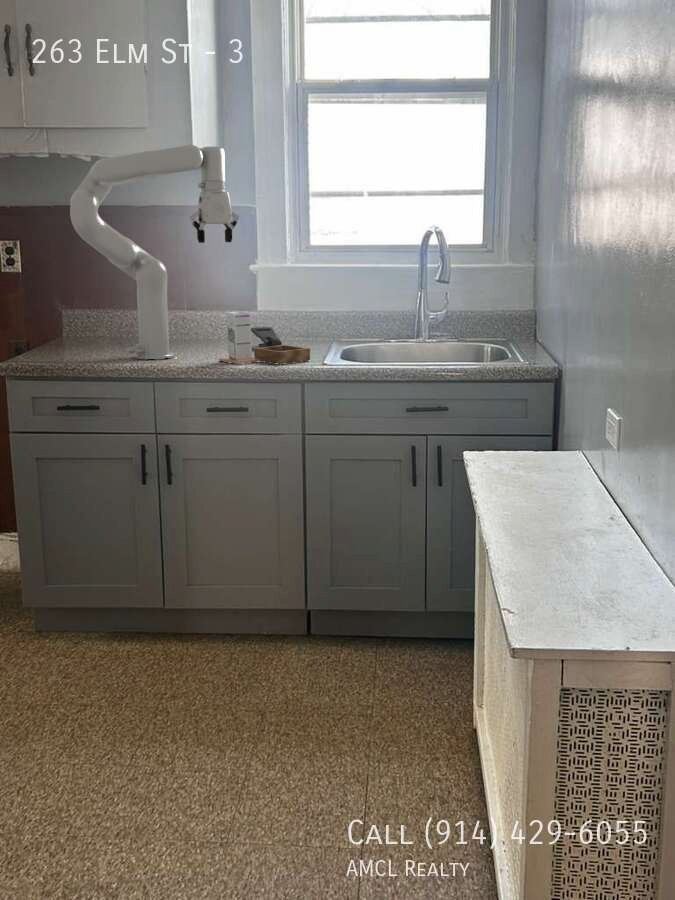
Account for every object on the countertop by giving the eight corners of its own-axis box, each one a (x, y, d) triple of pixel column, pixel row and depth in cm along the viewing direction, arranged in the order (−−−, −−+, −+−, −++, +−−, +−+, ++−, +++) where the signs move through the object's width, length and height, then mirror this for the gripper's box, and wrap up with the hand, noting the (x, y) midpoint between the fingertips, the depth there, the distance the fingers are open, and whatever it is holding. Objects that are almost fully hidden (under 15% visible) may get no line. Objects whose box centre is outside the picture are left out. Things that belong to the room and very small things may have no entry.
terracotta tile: (239, 364, 322) (239, 361, 322) (218, 361, 329) (218, 358, 329) (263, 361, 329) (263, 358, 329) (243, 358, 336) (243, 355, 336)
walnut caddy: (280, 365, 322) (280, 352, 321) (254, 361, 331) (254, 348, 330) (310, 361, 330) (309, 348, 330) (283, 357, 339) (283, 344, 338)
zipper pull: (273, 326, 368) (290, 334, 344) (273, 345, 369) (290, 354, 346) (248, 327, 365) (263, 335, 342) (248, 346, 367) (264, 355, 343)
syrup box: (252, 358, 328) (251, 312, 325) (235, 360, 325) (234, 313, 322) (245, 356, 333) (244, 310, 329) (227, 358, 330) (226, 311, 327)
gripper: (194, 186, 324) (196, 243, 328) (243, 187, 334) (244, 242, 337) (183, 187, 330) (185, 242, 334) (231, 187, 340) (233, 241, 343)
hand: (215, 242), depth 336 cm, fingers open, 9 cm apart
